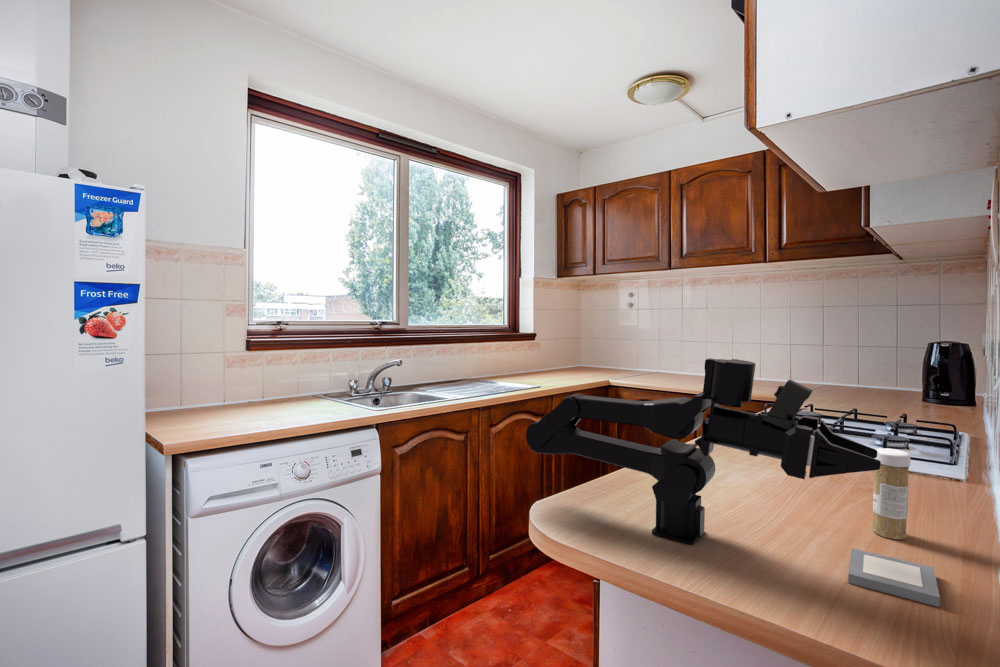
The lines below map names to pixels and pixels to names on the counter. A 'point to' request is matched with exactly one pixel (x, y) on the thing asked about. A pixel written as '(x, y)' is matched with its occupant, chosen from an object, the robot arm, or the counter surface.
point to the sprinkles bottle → (891, 493)
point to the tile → (894, 576)
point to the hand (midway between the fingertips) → (878, 459)
